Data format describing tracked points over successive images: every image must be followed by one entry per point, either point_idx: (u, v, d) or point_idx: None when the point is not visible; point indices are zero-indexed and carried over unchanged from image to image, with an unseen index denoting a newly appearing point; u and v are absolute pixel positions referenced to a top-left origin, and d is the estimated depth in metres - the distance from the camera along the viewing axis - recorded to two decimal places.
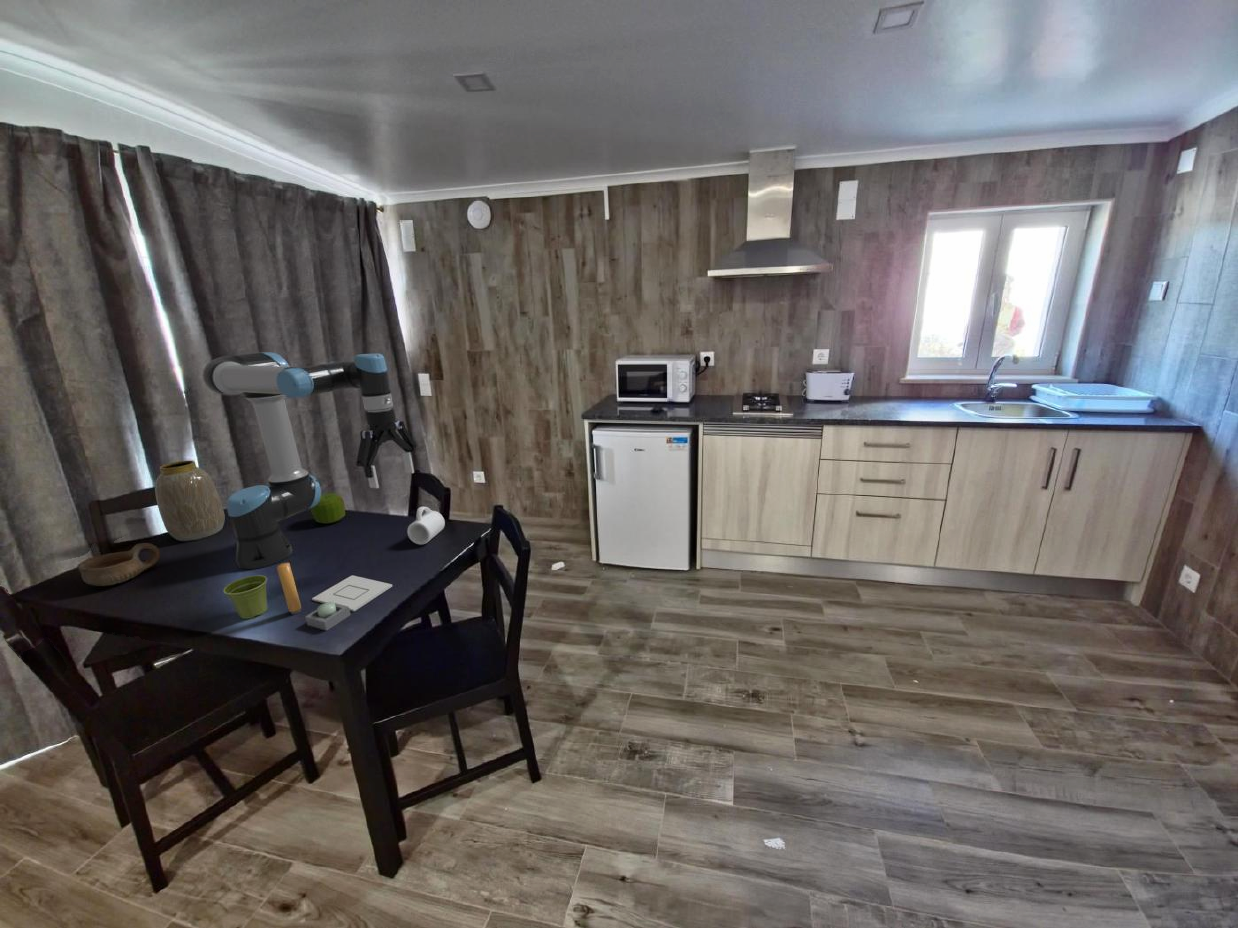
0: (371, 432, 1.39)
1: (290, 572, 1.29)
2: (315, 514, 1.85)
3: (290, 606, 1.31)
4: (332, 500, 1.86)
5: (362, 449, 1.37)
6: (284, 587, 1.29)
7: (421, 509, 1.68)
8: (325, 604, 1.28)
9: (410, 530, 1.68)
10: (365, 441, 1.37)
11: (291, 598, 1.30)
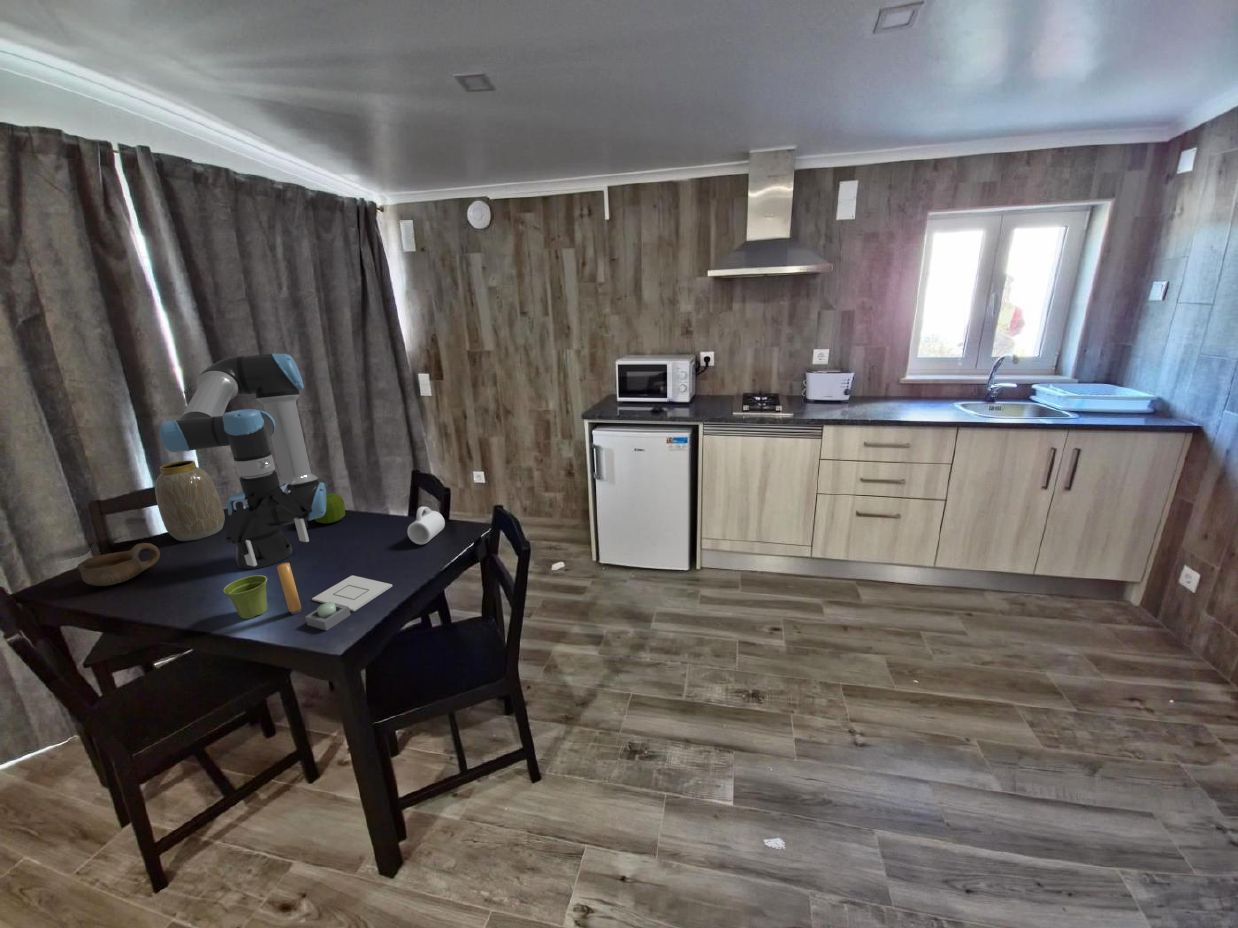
0: (245, 502, 1.18)
1: (290, 572, 1.29)
2: None
3: (290, 606, 1.31)
4: (332, 500, 1.86)
5: (233, 523, 1.16)
6: (284, 587, 1.29)
7: (421, 509, 1.68)
8: (325, 604, 1.28)
9: (410, 530, 1.68)
10: (237, 513, 1.16)
11: (291, 598, 1.30)
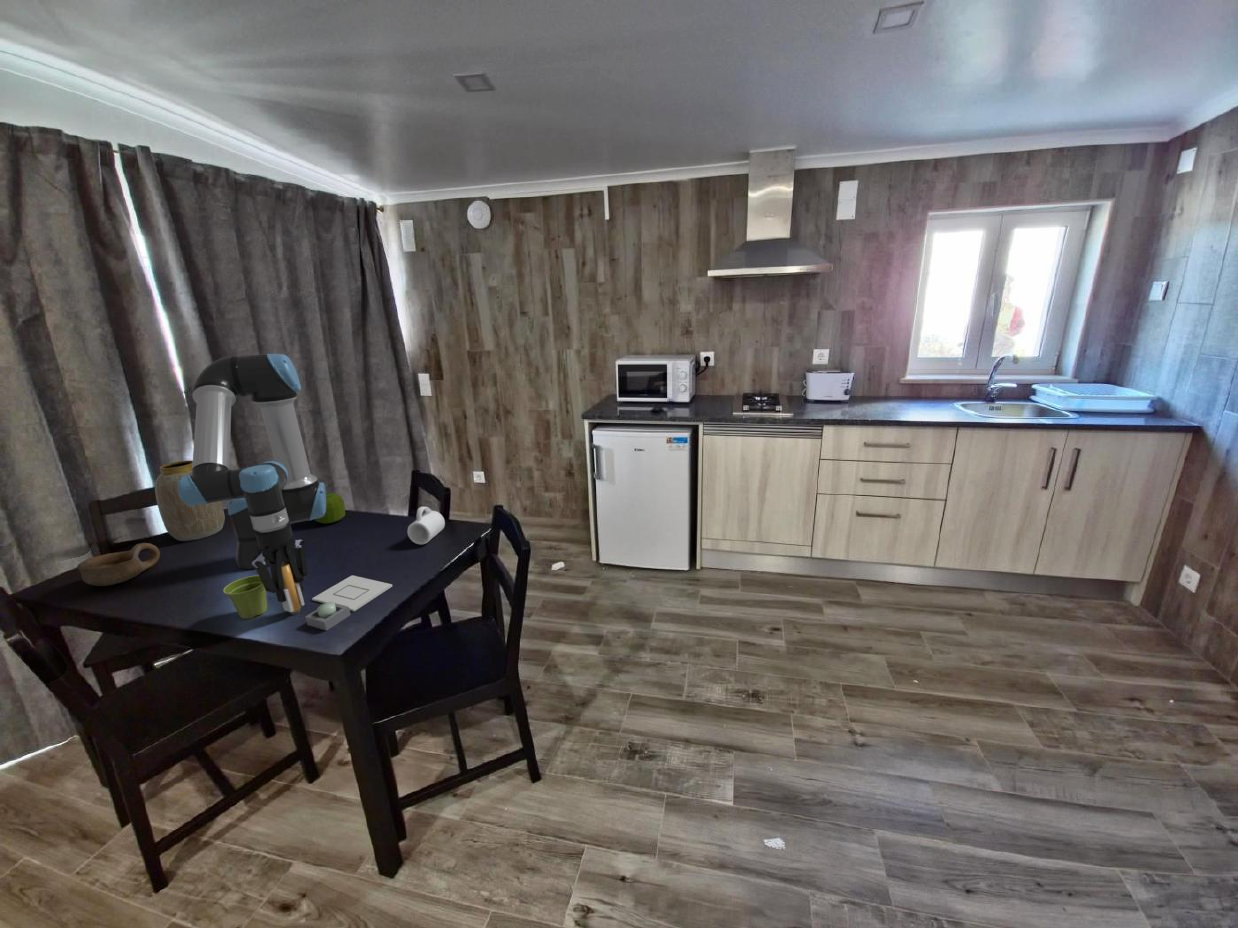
0: (262, 557, 1.23)
1: (290, 572, 1.29)
2: None
3: None
4: (332, 500, 1.86)
5: (263, 578, 1.24)
6: (284, 587, 1.29)
7: (421, 509, 1.68)
8: (325, 604, 1.28)
9: (410, 530, 1.68)
10: (261, 571, 1.23)
11: (291, 599, 1.30)
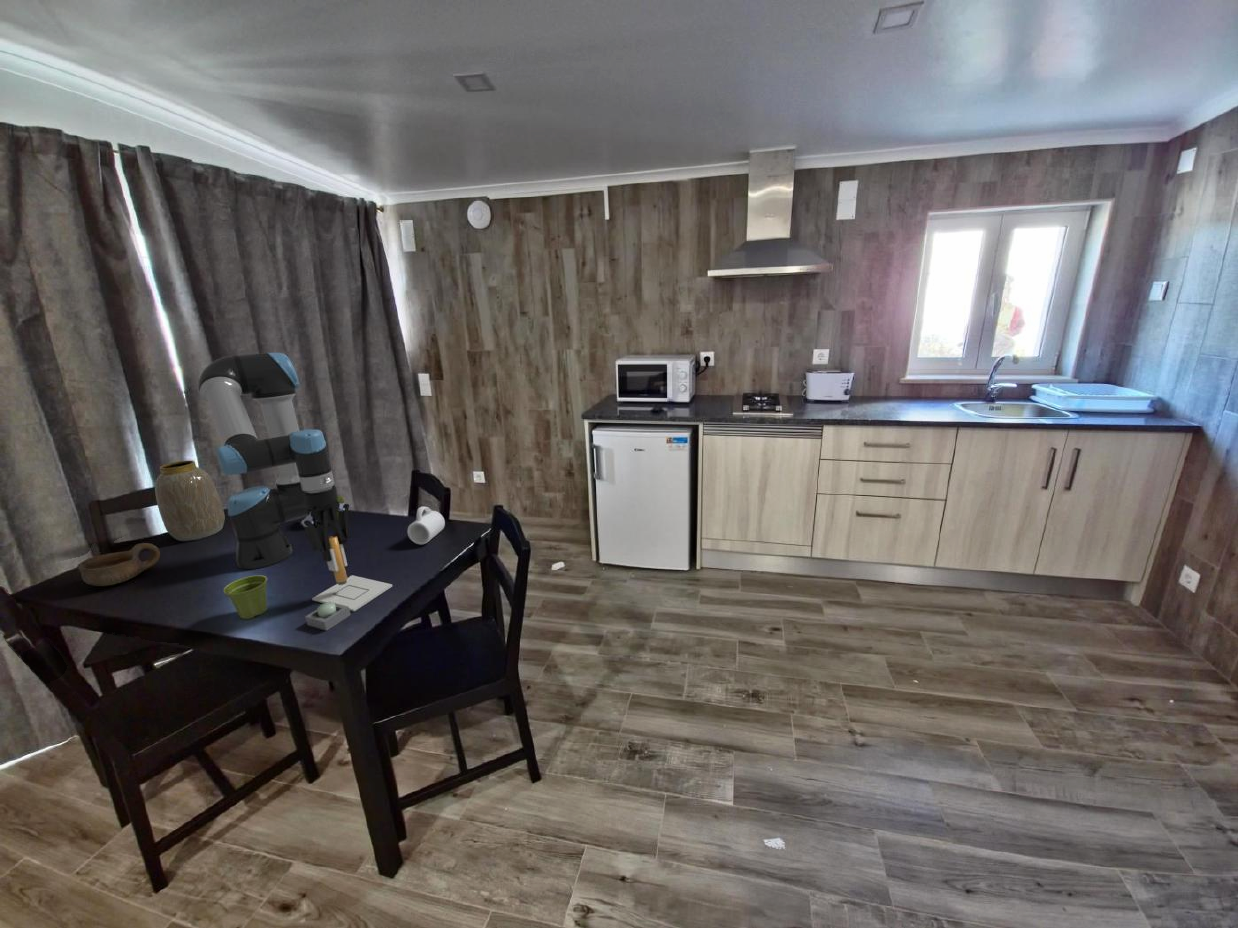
0: (310, 517, 1.30)
1: (338, 544, 1.37)
2: None
3: (337, 577, 1.38)
4: None
5: (311, 537, 1.30)
6: None
7: (421, 509, 1.68)
8: (325, 604, 1.28)
9: (410, 530, 1.68)
10: (310, 530, 1.29)
11: (339, 569, 1.38)
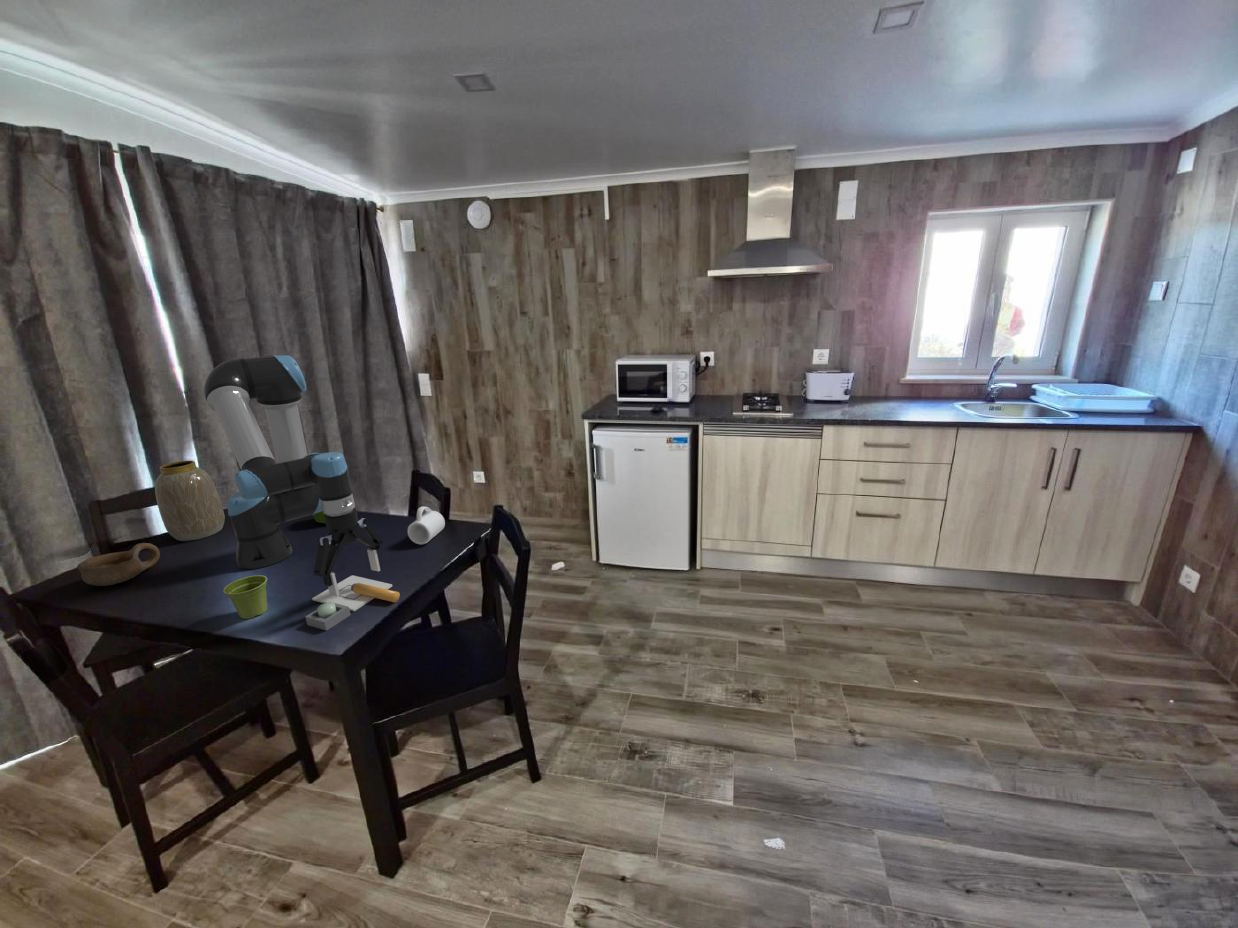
0: (330, 537, 1.29)
1: None
2: (315, 514, 1.85)
3: (358, 592, 1.37)
4: None
5: (320, 557, 1.27)
6: (375, 596, 1.35)
7: (421, 509, 1.68)
8: (325, 604, 1.28)
9: (410, 530, 1.68)
10: (323, 549, 1.27)
11: (366, 595, 1.37)
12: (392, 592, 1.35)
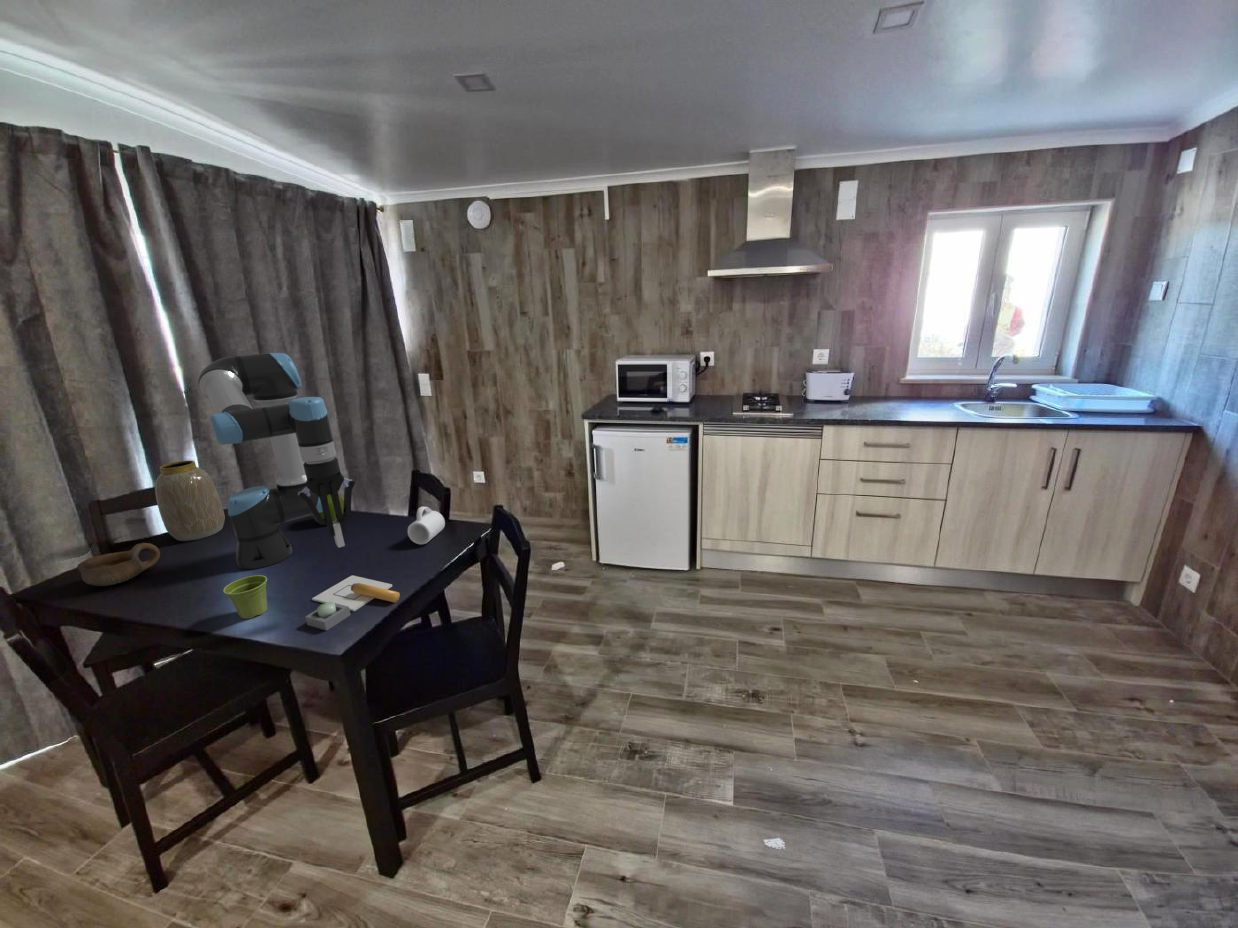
0: (307, 489, 1.23)
1: None
2: None
3: (358, 592, 1.37)
4: None
5: (310, 509, 1.25)
6: (375, 596, 1.35)
7: (421, 509, 1.68)
8: (325, 604, 1.28)
9: (410, 530, 1.68)
10: (306, 502, 1.23)
11: (366, 595, 1.37)
12: (392, 592, 1.35)
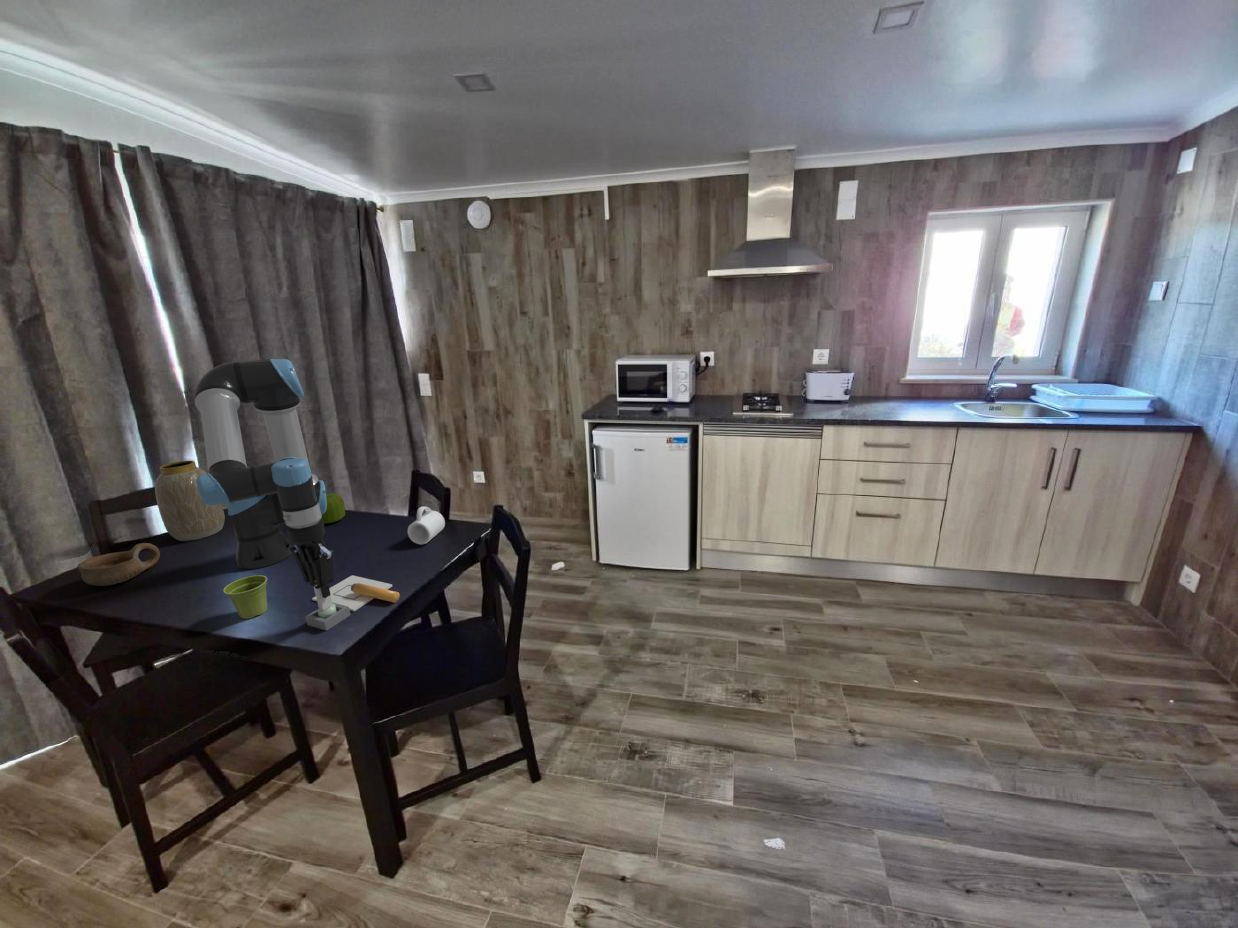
0: None
1: None
2: None
3: (358, 593, 1.37)
4: (332, 500, 1.86)
5: None
6: (375, 596, 1.35)
7: (421, 509, 1.68)
8: None
9: (410, 530, 1.68)
10: None
11: (366, 595, 1.37)
12: (392, 592, 1.35)
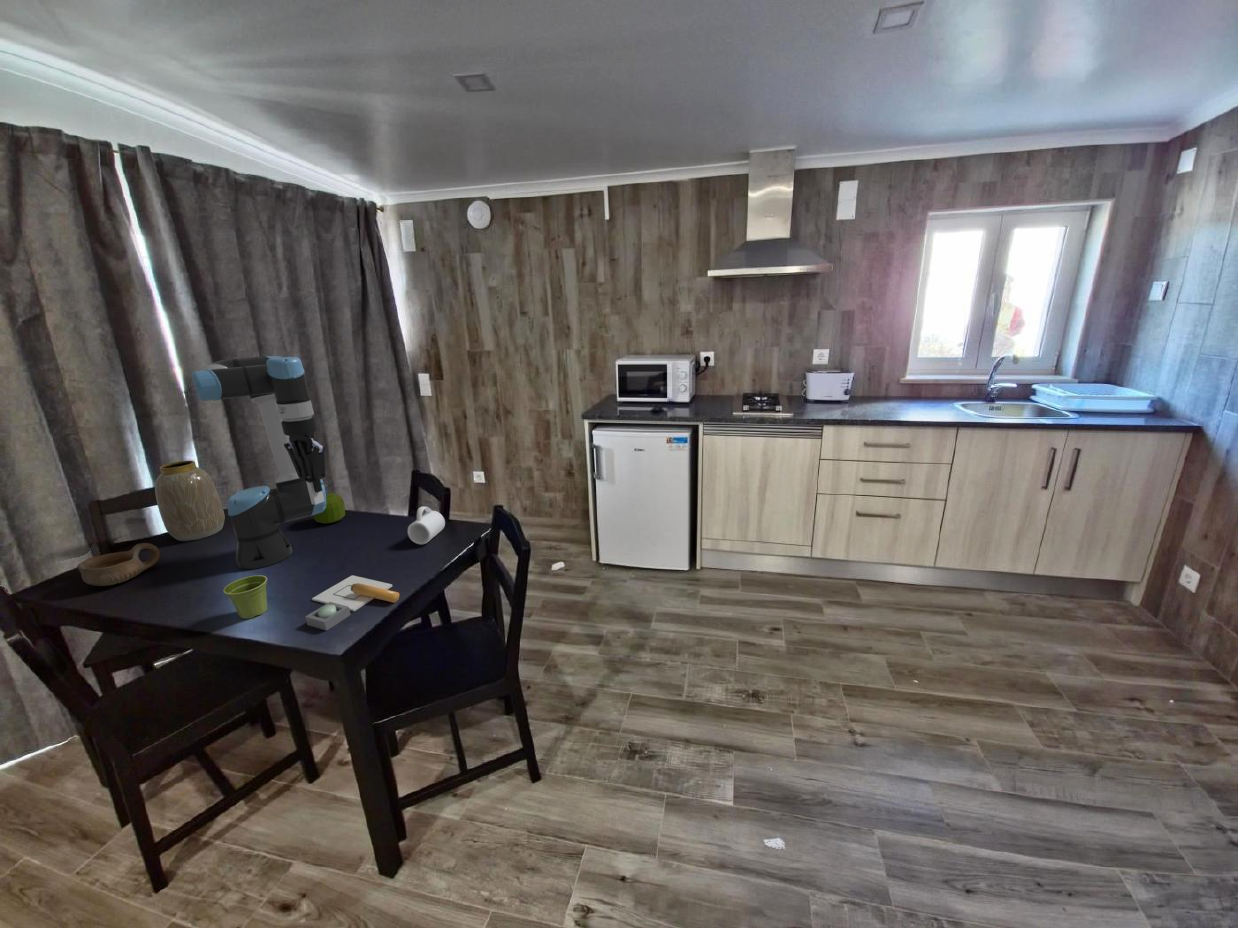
0: (290, 442, 1.32)
1: None
2: (315, 514, 1.85)
3: (358, 593, 1.37)
4: (332, 500, 1.86)
5: None
6: (375, 597, 1.35)
7: (421, 509, 1.68)
8: (326, 607, 1.29)
9: (410, 530, 1.68)
10: None
11: (366, 595, 1.37)
12: (391, 593, 1.35)
